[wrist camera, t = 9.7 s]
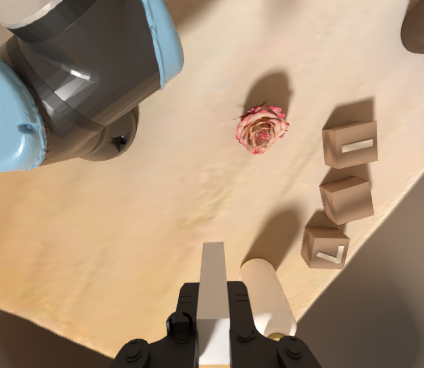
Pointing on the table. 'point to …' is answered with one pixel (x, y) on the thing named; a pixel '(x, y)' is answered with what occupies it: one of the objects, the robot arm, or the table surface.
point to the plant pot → (414, 30)
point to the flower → (261, 128)
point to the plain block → (347, 200)
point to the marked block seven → (324, 248)
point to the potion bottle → (267, 300)
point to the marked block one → (350, 144)
